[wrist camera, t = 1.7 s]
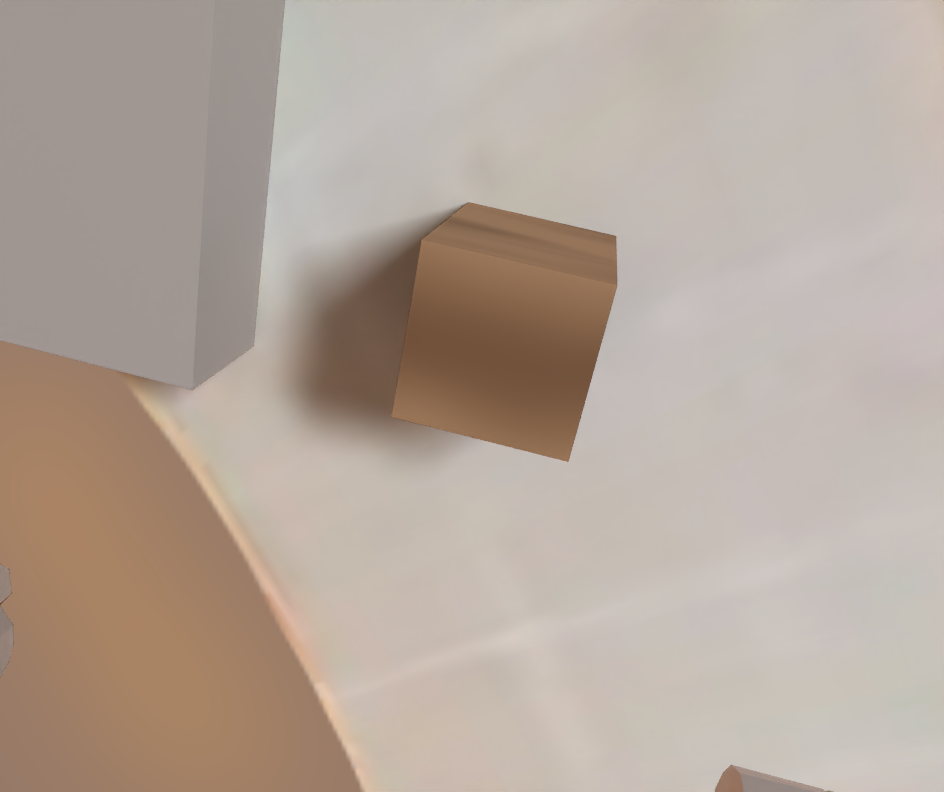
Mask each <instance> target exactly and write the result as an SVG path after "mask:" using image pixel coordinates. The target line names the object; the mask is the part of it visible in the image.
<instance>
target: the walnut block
mask: <svg viewBox="0 0 944 792" xmlns="http://www.w3.org/2000/svg"><path fill="white" fill-rule="evenodd" d="M616 288H617V253H616V236H614V235H609V234H605V233H601V232H596V231H592V230H588V229H583V228H579V227H574V226H570V225H566V224H561V223H557V222H553V221H548V220H544V219H540V218H535V217H531V216H527V215H522V214H518V213H513V212H509V211H505V210H500V209H496V208H492V207H487V206H483V205H479V204H474V203H470V202H468V203H467V204H466V205H465V206H463V207H462V208H461V209H460V210H458V211H457V212H456V213H455V214H453V215H452V216H451V217H449V218H448V219H447V220H446V221H444V222H443V223H442V224H441V225H439V226H438V227H437V228H436V229H434V230H433V231H432V232H431V233H429V234H428V235H427V236H426V237H424V238H423V239H422V241H421V247H420V252H419V258H418V264H417V270H416V276H415V282H414V288H413V293H412V299H411V305H410V311H409V317H408V323H407V328H406V334H405V340H404V346H403V352H402V358H401V364H400V369H399V375H398V381H397V387H396V393H395V399H394V404H393V410H392V416H391V417H394V418H398V419H402V420H405V421H409V422H413V423H417V424H421V425H425V426H429V427H433V428H437V429H441V430H445V431H449V432H453V433H457V434H461V435H465V436H469V437H473V438H477V439H480V440H484V441H488V442H492V443H496V444H500V445H504V446H508V447H512V448H516V449H520V450H524V451H528V452H532V453H536V454H540V455H544V456H548V457H551V458H555V459H559V460H563V461H567V462H568V461H569V458H570V454H571V451H572V447H573V443H574V440H575V436H576V433H577V429H578V425H579V422H580V418H581V415H582V411H583V407H584V404H585V400H586V397H587V393H588V389H589V386H590V382H591V379H592V375H593V371H594V368H595V364H596V361H597V357H598V353H599V350H600V346H601V343H602V339H603V335H604V332H605V328H606V324H607V321H608V317H609V314H610V310H611V306H612V303H613V299H614V296H615V292H616Z"/></svg>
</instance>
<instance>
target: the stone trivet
mask: <svg viewBox="0 0 944 792" xmlns="http://www.w3.org/2000/svg"><path fill="white" fill-rule="evenodd" d="M284 7H285V0H0V341H4V342H8V343H11V344H16V345H20V346H24V347H27V348H31V349H35V350H39V351H43V352H46V353H50V354H54V355H58V356H62V357H66V358H70V359H74V360H77V361H81V362H85V363H89V364H93V365H97V366H101V367H105V368H108V369H112V370H116V371H120V372H124V373H128V374H132V375H136V376H139V377H143V378H147V379H151V380H155V381H159V382H163V383H167V384H171V385H174V386H178V387H182V388H186V389H190V390H193V389H195V388H196V387H197V386H199V385H200V384H202V383H203V382H204V381H206V380H207V379H209V378H210V377H211V376H213V375H214V374H216V373H217V372H218V371H220V370H221V369H223V368H224V367H225V366H227V365H228V364H230V363H231V362H232V361H234V360H235V359H237V358H238V357H239V356H241V355H242V354H244V353H245V352H246V351H248V350H249V349H251V348H252V347H253V346H254V339H255V328H256V317H257V306H258V295H259V283H260V272H261V261H262V250H263V239H264V228H265V217H266V206H267V195H268V184H269V173H270V162H271V151H272V139H273V128H274V117H275V106H276V95H277V84H278V73H279V62H280V51H281V40H282V29H283V18H284Z"/></svg>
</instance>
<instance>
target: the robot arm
mask: <svg viewBox="0 0 944 792" xmlns="http://www.w3.org/2000/svg"><path fill="white" fill-rule="evenodd" d="M11 594H12V590H11V581H10V572H9V569H8V568H6V567H5V566H3V565H1V564H0V605H1V604H2V603H3V602H4V600H6V599H7V597H9V596H10V595H11ZM13 644H14V631H13V624H12V622H11V621H10V619H9V618H8V616H7V615H6V613H5V612H4V610H3V609H2V607H1V606H0V677H1V675H2V674H3V672H4V670H5V668H6V666H7V665H8V663H9V660H10V655H11V652H12V647H13ZM715 792H833V791H824V790H823V789H820V788H816V787H813V786H809V785H805V784H801V783H798V782H794V781H790V780H786V779H783V778H779V777H775V776H771V775H768V774H764V773H760V772H756V771H753V770H749V769H745V768H741V767H738V766H734V765H730V766H729V767H728V768H727V769H726V770H725V771H724V772H723V774H722V776H721V778H720V780H719V782H718V784H717V786H716V788H715Z"/></svg>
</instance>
